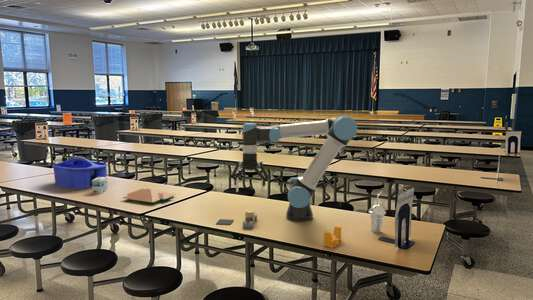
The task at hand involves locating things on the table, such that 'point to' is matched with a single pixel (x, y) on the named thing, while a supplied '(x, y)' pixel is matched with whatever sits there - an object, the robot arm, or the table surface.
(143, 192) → the house
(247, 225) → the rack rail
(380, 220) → the cup with straw
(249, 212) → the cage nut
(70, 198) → the table surface
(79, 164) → the caddy
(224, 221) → the rubber mat
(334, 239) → the pipe clamp
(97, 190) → the light bulb box
